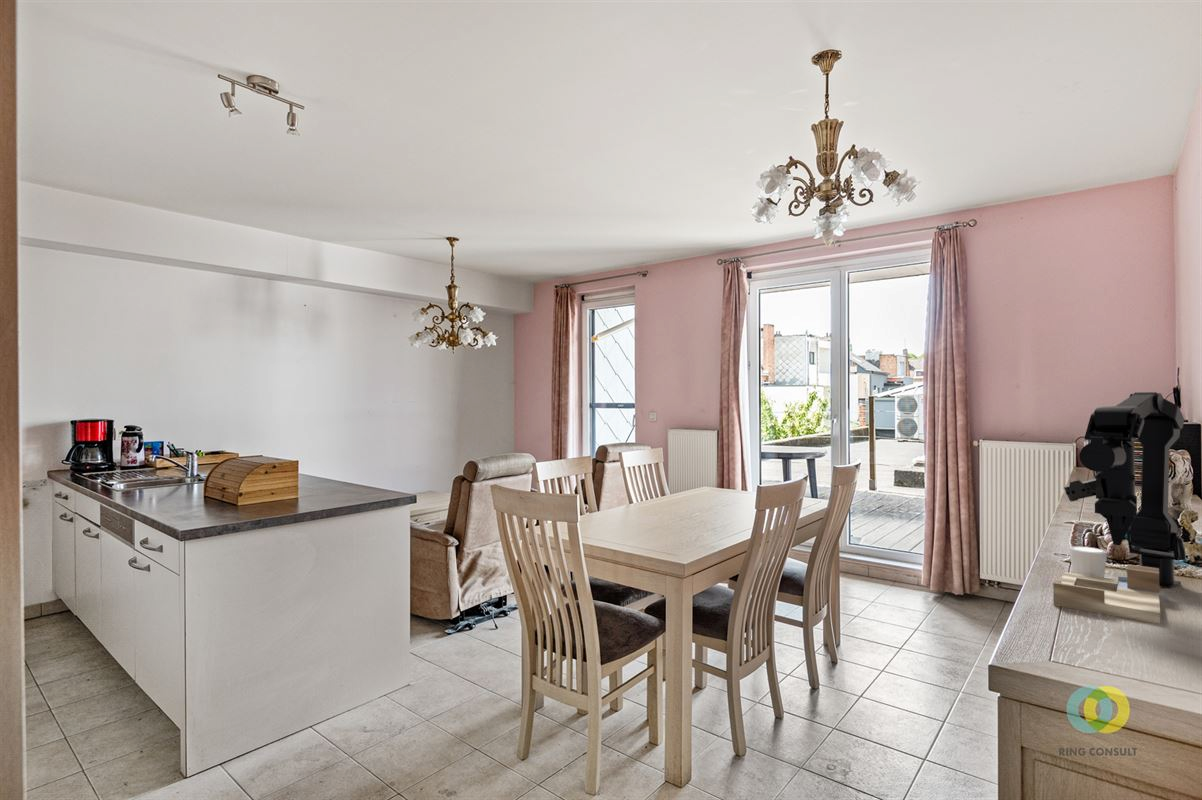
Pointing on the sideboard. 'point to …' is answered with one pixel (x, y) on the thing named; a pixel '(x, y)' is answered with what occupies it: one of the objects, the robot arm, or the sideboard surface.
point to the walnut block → (1143, 578)
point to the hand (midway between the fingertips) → (1116, 544)
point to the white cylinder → (1088, 561)
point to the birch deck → (1105, 597)
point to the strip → (1123, 584)
